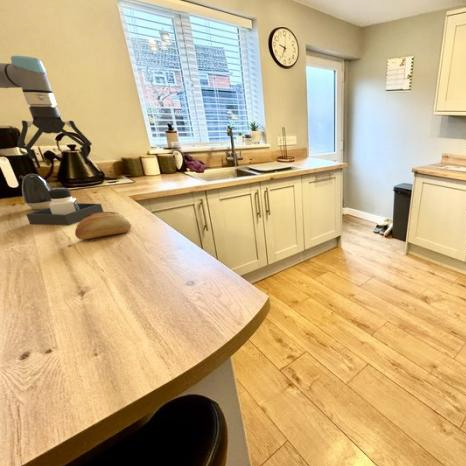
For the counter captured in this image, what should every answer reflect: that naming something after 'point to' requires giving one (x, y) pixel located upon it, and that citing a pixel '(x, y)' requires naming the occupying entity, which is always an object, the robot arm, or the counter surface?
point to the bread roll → (101, 225)
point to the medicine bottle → (62, 201)
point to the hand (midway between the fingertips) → (64, 165)
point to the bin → (59, 219)
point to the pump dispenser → (36, 191)
